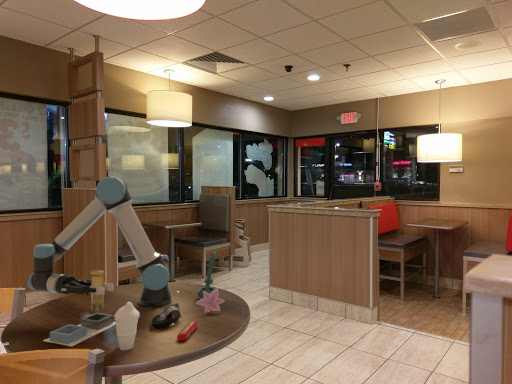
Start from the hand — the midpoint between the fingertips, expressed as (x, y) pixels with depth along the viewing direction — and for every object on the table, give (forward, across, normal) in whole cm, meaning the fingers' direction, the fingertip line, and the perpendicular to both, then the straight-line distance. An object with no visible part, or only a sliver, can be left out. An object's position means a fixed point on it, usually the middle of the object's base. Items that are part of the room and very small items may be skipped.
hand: (108, 289), depth 142 cm
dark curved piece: (+18, -49, -16) cm, 55 cm away
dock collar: (-5, +14, -14) cm, 21 cm away
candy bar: (+31, -7, -16) cm, 36 cm away
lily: (+28, -33, -16) cm, 46 cm away
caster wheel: (+19, -12, -16) cm, 27 cm away
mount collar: (-5, 0, -14) cm, 15 cm away
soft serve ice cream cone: (+17, +12, -16) cm, 26 cm away
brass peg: (-5, 0, -8) cm, 10 cm away
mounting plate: (-5, +7, -16) cm, 18 cm away
